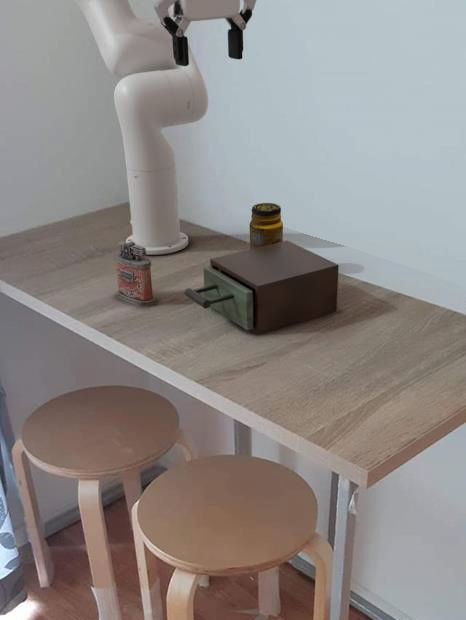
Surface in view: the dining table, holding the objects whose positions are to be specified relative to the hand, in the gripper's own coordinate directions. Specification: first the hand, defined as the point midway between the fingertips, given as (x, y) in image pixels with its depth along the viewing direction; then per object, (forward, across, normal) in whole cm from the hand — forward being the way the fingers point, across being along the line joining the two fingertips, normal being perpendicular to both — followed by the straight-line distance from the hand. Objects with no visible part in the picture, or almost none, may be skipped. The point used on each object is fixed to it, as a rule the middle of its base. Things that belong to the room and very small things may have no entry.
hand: (209, 61), depth 128 cm
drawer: (+35, +3, +15) cm, 39 cm away
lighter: (+36, +16, -2) cm, 40 cm away
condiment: (+36, -9, 0) cm, 37 cm away
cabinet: (+36, -2, +15) cm, 39 cm away
